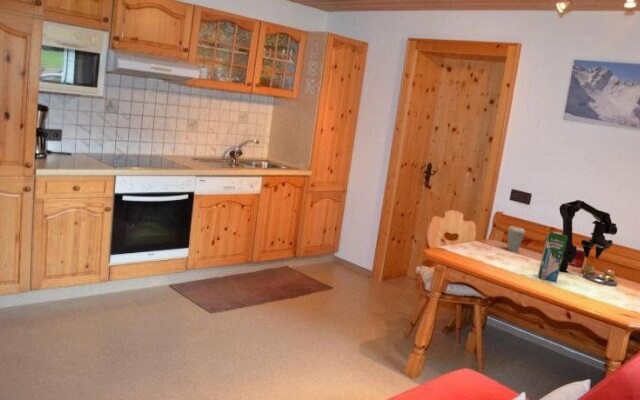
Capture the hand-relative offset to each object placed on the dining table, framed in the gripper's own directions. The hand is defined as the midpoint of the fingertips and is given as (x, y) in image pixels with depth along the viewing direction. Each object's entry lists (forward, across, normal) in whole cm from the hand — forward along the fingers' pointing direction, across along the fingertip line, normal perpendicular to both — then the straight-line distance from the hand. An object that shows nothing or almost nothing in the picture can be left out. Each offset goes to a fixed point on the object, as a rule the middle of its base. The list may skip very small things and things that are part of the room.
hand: (591, 258), depth 335 cm
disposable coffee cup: (+10, -16, +45) cm, 49 cm away
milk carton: (+10, -49, -12) cm, 51 cm away
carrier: (+10, -7, -13) cm, 18 cm away
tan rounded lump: (+9, 0, 0) cm, 9 cm away
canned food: (+10, +9, +16) cm, 21 cm away
